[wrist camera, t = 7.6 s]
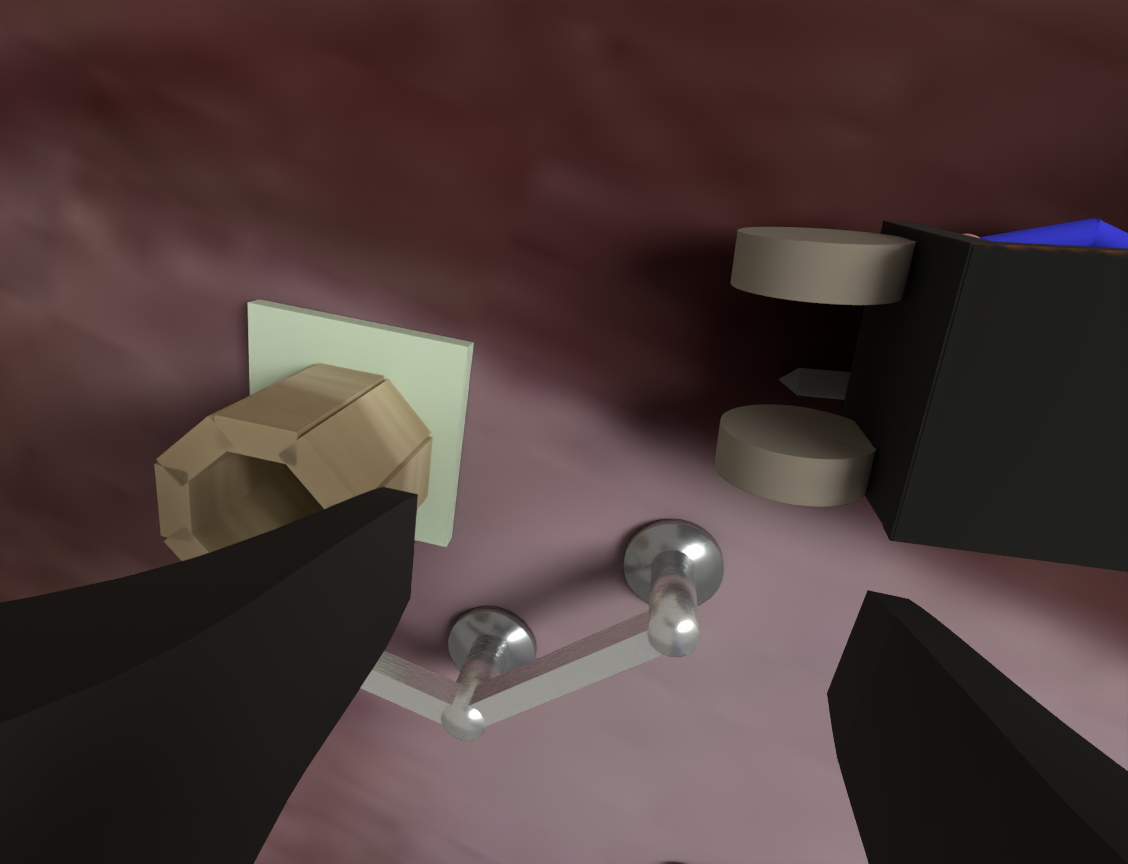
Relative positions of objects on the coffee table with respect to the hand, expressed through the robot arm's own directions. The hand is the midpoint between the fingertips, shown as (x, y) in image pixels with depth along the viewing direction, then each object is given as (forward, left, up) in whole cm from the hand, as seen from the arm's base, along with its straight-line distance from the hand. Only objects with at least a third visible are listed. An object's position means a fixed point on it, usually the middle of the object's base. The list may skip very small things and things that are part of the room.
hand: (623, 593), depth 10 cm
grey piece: (-8, +3, -10) cm, 13 cm away
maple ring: (-3, +9, -9) cm, 13 cm away
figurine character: (+4, -9, -10) cm, 14 cm away
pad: (-3, +9, -10) cm, 14 cm away
